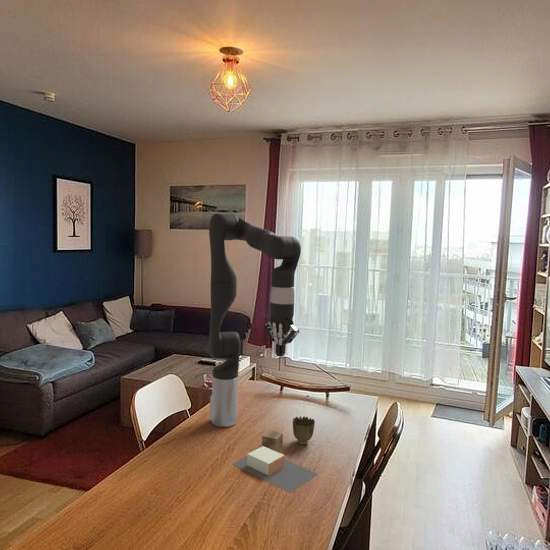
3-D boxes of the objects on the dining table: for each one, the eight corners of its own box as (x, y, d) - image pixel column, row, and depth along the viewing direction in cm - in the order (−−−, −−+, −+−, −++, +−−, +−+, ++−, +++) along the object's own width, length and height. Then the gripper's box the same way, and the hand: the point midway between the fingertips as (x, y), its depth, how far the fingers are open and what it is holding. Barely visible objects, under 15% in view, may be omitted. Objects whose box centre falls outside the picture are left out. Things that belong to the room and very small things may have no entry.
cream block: (269, 475, 129) (247, 465, 135) (284, 466, 135) (262, 456, 140) (269, 463, 129) (247, 454, 134) (284, 455, 134) (263, 445, 140)
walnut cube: (261, 450, 145) (262, 435, 145) (268, 444, 150) (268, 429, 149) (275, 454, 143) (276, 439, 142) (282, 447, 148) (282, 433, 147)
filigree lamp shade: (312, 450, 146) (313, 426, 146) (289, 447, 148) (290, 423, 147) (315, 440, 154) (316, 417, 153) (293, 437, 155) (294, 414, 154)
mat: (232, 465, 135) (232, 464, 135) (261, 450, 145) (261, 449, 145) (290, 494, 121) (290, 492, 121) (318, 475, 131) (318, 473, 131)
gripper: (258, 299, 142) (256, 354, 143) (291, 305, 133) (289, 362, 135) (273, 297, 148) (271, 349, 149) (306, 302, 139) (304, 358, 141)
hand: (280, 355), depth 142 cm, fingers closed
